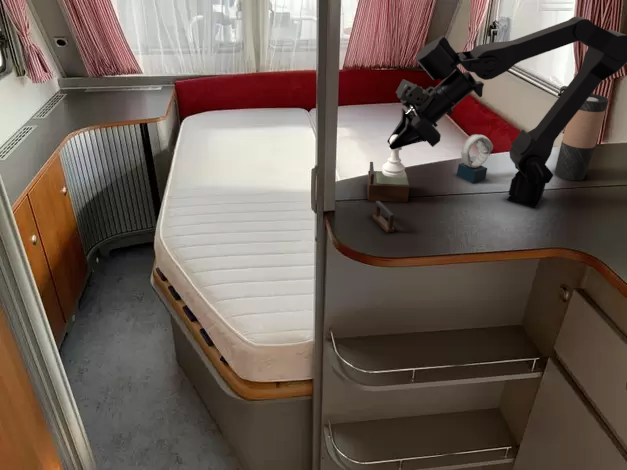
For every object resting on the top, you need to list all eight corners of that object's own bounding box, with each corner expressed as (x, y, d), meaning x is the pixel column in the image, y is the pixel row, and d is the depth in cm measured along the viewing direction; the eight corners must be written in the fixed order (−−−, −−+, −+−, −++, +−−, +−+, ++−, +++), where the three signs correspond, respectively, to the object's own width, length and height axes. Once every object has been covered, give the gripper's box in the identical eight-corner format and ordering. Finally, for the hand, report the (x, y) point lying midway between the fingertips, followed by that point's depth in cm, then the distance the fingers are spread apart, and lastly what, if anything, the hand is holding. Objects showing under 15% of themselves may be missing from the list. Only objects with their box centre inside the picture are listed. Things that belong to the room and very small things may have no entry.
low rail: (372, 217, 114) (374, 201, 112) (379, 216, 114) (380, 200, 112) (387, 232, 108) (388, 215, 106) (394, 231, 109) (396, 214, 107)
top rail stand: (404, 187, 127) (407, 162, 124) (407, 202, 120) (410, 176, 117) (367, 185, 128) (368, 160, 124) (367, 200, 121) (369, 174, 117)
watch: (490, 178, 133) (499, 136, 127) (467, 184, 129) (475, 142, 124) (474, 170, 137) (481, 129, 131) (451, 176, 133) (458, 134, 128)
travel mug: (588, 182, 132) (613, 103, 122) (556, 179, 133) (578, 100, 123) (581, 170, 138) (604, 94, 128) (551, 167, 140) (571, 91, 129)
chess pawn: (409, 174, 118) (413, 136, 114) (391, 179, 116) (395, 140, 111) (394, 167, 122) (398, 129, 117) (377, 171, 120) (380, 133, 115)
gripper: (414, 57, 115) (361, 107, 121) (431, 78, 99) (369, 135, 105) (445, 93, 119) (392, 140, 125) (466, 120, 103) (405, 171, 109)
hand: (389, 145), depth 116 cm, fingers closed on chess pawn, 3 cm apart
